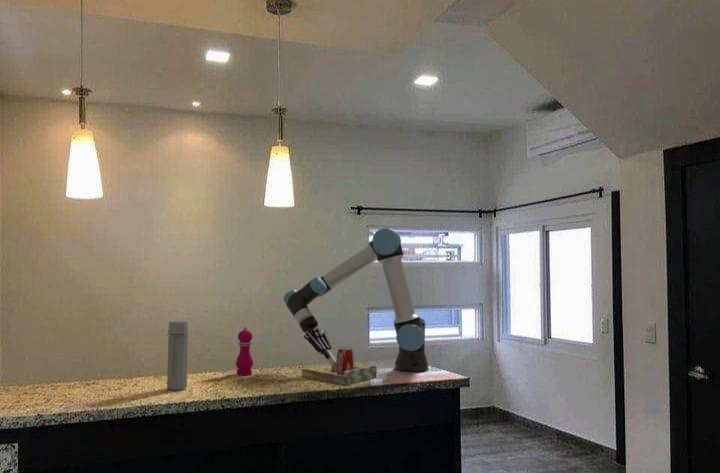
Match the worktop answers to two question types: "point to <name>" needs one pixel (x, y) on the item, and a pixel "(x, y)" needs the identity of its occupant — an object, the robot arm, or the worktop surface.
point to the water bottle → (177, 355)
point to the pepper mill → (244, 353)
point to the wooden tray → (348, 377)
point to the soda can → (345, 360)
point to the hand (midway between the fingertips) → (334, 363)
